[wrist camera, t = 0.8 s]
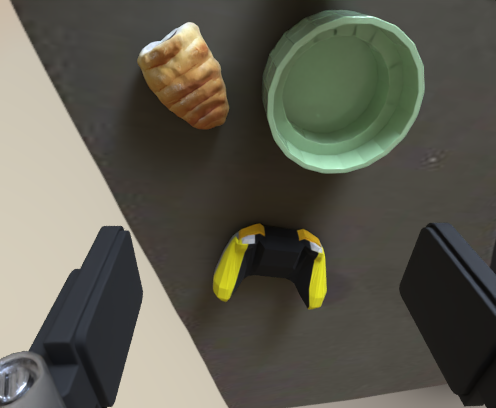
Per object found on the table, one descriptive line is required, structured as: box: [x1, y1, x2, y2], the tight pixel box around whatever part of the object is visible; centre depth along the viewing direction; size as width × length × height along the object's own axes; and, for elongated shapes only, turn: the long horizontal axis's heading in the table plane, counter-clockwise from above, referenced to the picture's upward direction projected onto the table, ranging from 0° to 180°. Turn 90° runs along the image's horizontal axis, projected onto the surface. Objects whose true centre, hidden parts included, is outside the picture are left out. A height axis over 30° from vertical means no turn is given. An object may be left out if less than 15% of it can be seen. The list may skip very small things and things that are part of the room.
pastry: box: [137, 22, 229, 129], centre depth 32 cm, size 9×7×4 cm
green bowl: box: [262, 10, 424, 173], centre depth 31 cm, size 13×13×6 cm
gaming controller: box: [212, 223, 327, 309], centre depth 44 cm, size 15×6×10 cm
